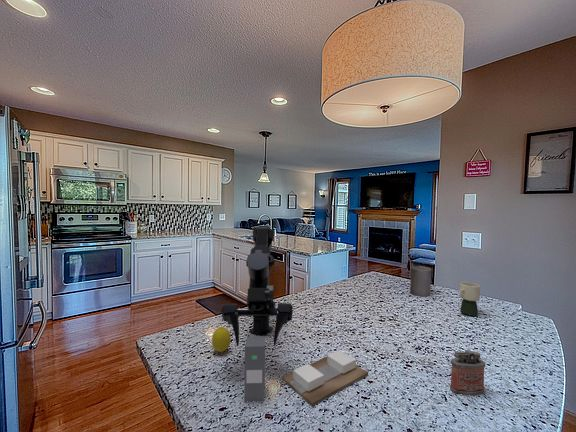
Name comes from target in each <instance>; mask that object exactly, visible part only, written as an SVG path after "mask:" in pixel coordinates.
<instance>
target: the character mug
mask: <svg viewBox="0 0 576 432" xmlns="http://www.w3.org/2000/svg"><path fill="white" fill-rule="evenodd" d="M459 283H460V284H459V289H458V290H459V292H458V293H459V295H458V296H459V297H460V298H461V299H462V301H461V304H460V310H459V311H460V313H462V314H465V315H469V316H472V317H473V316H475V317H476V316H478V315H479V312H478V311H479V310H478V309H479V307H478V302H479V301H480V298H481V297H480V296H481V285H480V284H478V283H476V282H472V281H471V282H470V281H461V282H459Z"/></svg>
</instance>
